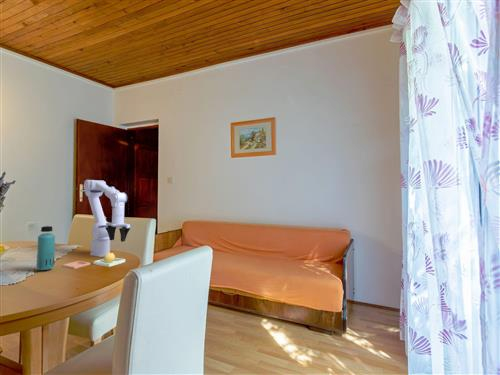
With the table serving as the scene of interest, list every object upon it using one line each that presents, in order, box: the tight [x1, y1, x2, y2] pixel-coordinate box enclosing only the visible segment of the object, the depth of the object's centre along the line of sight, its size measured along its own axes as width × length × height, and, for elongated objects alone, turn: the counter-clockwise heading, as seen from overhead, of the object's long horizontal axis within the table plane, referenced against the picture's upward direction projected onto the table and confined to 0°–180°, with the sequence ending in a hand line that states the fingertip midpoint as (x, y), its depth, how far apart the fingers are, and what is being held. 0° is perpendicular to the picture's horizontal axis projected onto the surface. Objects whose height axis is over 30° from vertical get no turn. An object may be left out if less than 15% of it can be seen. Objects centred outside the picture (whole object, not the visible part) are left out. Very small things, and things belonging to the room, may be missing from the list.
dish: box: [61, 260, 91, 270], centre depth 130 cm, size 8×8×1 cm
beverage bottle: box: [35, 225, 56, 271], centre depth 121 cm, size 6×7×20 cm
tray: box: [93, 257, 126, 268], centre depth 136 cm, size 10×10×2 cm
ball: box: [103, 252, 116, 263], centre depth 136 cm, size 5×5×5 cm
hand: (117, 240), depth 145 cm, fingers open, 7 cm apart
